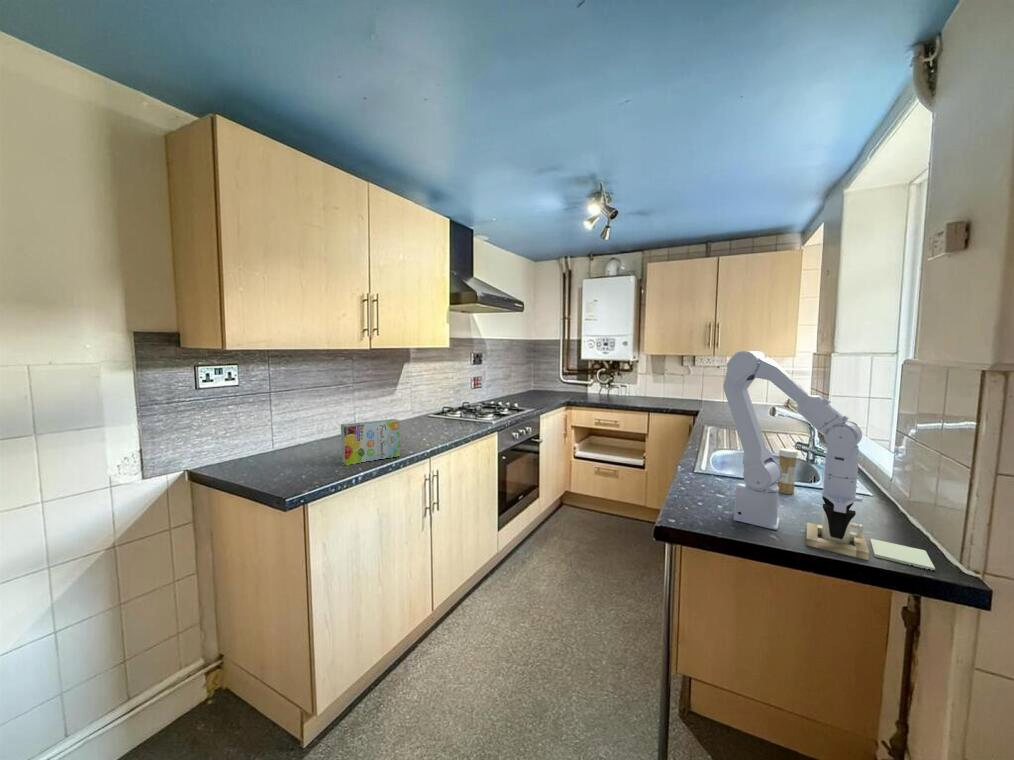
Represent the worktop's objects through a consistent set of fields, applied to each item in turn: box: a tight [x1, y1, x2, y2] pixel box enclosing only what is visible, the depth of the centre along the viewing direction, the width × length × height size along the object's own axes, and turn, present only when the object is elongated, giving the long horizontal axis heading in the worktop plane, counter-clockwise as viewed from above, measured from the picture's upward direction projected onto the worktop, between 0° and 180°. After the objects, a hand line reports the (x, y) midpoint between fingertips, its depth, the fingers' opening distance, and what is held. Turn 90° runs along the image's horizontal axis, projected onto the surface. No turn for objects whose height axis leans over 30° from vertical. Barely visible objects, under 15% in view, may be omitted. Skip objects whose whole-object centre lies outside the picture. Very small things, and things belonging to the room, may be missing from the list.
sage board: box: [869, 538, 936, 571], centre depth 87 cm, size 9×9×1 cm
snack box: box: [340, 418, 401, 466], centre depth 156 cm, size 21×6×15 cm, turn 125°
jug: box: [821, 510, 864, 545], centre depth 92 cm, size 7×5×7 cm
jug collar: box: [805, 522, 870, 561], centre depth 92 cm, size 11×11×2 cm
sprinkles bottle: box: [777, 447, 798, 495], centre depth 125 cm, size 5×5×14 cm
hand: (835, 533), depth 92 cm, fingers closed on jug, 5 cm apart
